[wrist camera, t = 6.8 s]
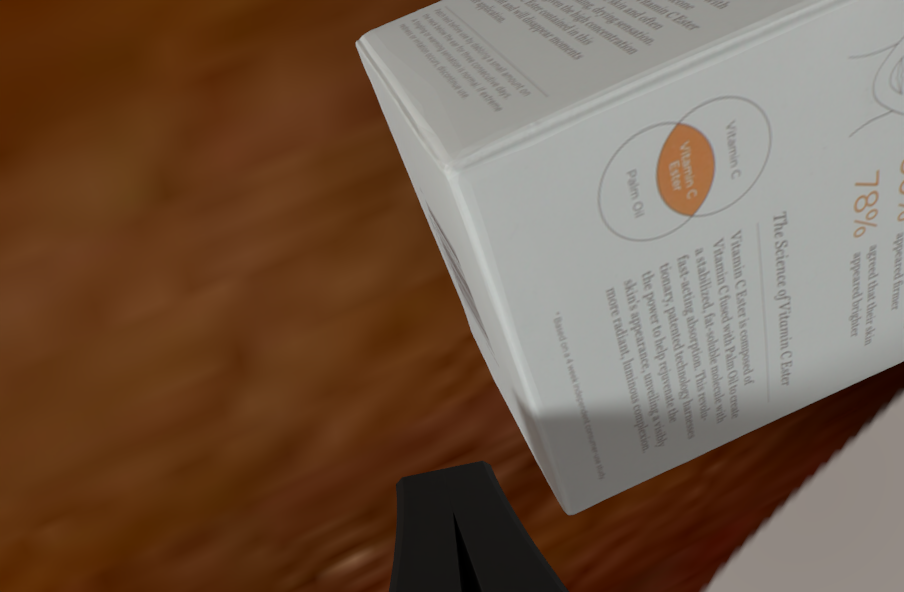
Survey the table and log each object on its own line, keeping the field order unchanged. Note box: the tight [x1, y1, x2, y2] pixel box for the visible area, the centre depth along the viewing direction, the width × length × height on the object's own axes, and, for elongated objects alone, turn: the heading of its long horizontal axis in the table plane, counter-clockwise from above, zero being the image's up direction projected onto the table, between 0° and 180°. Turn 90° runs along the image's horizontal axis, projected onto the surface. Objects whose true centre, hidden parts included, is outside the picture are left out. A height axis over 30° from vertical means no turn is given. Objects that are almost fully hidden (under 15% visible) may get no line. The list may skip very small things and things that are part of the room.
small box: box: [356, 0, 904, 515], centre depth 16 cm, size 8×6×13 cm
